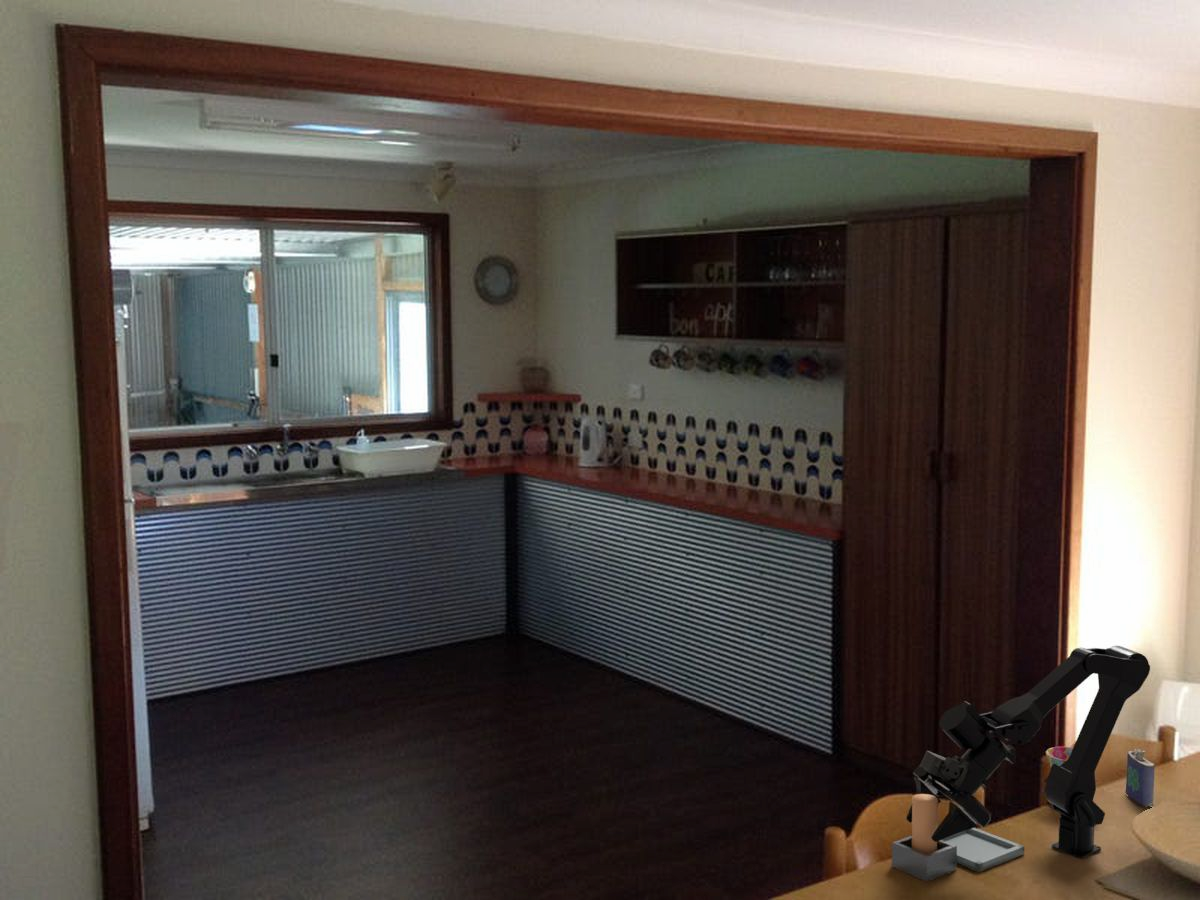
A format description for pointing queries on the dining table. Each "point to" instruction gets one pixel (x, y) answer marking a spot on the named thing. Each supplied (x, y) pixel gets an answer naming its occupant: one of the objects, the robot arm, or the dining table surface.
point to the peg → (924, 822)
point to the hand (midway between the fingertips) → (920, 830)
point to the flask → (1140, 779)
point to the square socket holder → (924, 859)
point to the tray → (983, 849)
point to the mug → (1058, 755)
